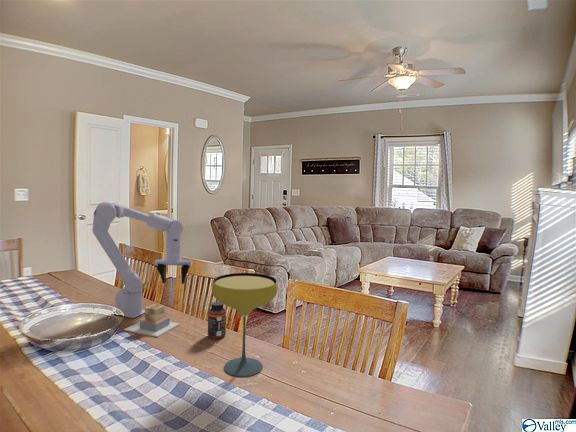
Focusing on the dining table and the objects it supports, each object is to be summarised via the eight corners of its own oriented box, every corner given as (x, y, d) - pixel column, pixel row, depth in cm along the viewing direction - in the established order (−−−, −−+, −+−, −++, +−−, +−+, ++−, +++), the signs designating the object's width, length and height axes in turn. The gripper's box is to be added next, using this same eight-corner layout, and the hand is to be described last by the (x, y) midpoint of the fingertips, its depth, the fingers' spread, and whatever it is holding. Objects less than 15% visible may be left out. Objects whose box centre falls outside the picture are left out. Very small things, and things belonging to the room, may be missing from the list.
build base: (124, 330, 131) (123, 321, 131) (148, 319, 142) (147, 310, 142) (157, 337, 126) (157, 327, 126) (179, 324, 137) (179, 316, 137)
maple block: (145, 320, 132) (145, 307, 132) (153, 316, 136) (153, 304, 136) (155, 322, 130) (155, 309, 130) (164, 318, 135) (164, 305, 134)
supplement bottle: (223, 339, 126) (224, 306, 125) (205, 339, 126) (206, 305, 125) (227, 332, 132) (227, 300, 131) (210, 332, 132) (210, 300, 131)
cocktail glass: (284, 359, 113) (287, 276, 111) (259, 390, 96) (261, 293, 94) (230, 348, 119) (231, 270, 117) (197, 375, 102) (198, 284, 100)
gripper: (152, 251, 149) (152, 285, 150) (189, 252, 149) (189, 286, 150) (158, 247, 156) (158, 280, 157) (193, 248, 156) (193, 281, 157)
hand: (173, 283), depth 154 cm, fingers open, 7 cm apart
